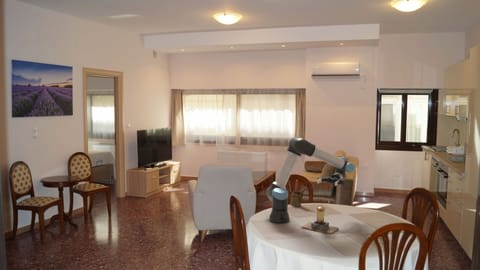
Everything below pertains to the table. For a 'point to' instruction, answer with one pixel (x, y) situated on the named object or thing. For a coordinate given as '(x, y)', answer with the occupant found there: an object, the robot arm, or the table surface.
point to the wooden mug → (296, 197)
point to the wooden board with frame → (320, 227)
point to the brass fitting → (320, 215)
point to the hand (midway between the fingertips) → (326, 182)
